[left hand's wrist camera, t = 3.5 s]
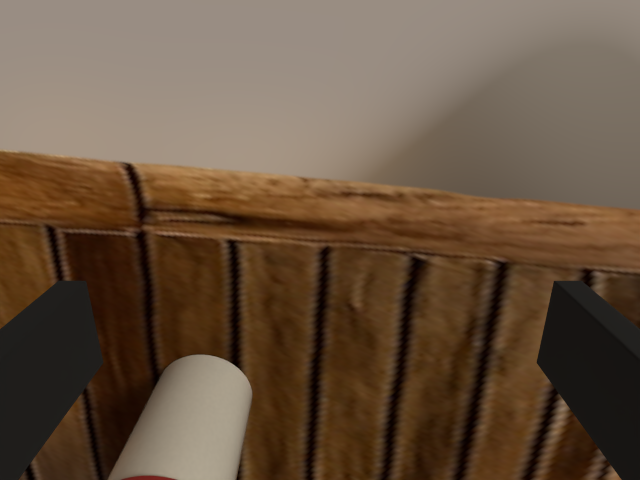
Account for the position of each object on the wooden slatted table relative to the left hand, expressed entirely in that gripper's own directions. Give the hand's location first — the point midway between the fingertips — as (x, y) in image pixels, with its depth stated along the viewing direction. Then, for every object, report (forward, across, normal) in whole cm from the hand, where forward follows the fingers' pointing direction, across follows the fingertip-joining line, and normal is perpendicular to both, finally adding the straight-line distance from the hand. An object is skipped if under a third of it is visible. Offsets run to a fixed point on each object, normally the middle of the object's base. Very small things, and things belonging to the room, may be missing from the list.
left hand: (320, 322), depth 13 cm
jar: (+28, +12, +26) cm, 40 cm away
